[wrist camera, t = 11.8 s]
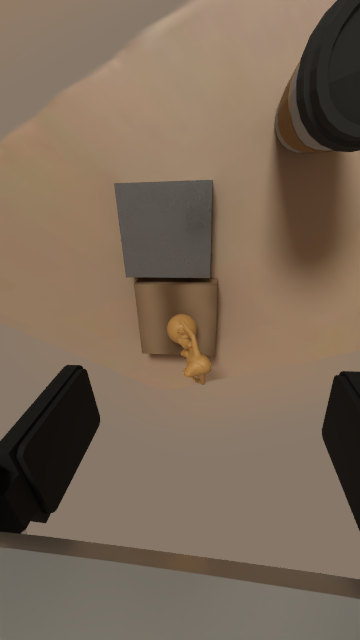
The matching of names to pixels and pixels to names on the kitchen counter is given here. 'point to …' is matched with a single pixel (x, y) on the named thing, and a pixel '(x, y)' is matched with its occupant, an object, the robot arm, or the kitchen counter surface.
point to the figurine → (189, 346)
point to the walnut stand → (176, 312)
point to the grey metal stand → (166, 228)
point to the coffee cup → (325, 87)
